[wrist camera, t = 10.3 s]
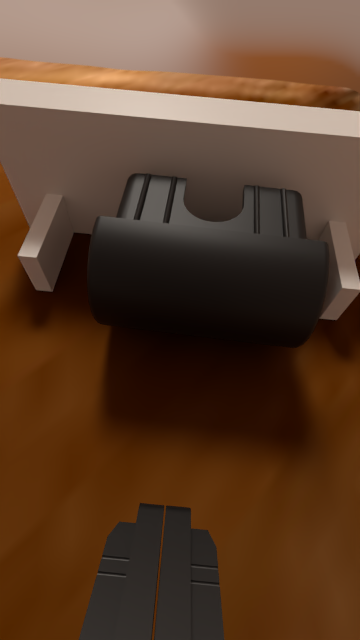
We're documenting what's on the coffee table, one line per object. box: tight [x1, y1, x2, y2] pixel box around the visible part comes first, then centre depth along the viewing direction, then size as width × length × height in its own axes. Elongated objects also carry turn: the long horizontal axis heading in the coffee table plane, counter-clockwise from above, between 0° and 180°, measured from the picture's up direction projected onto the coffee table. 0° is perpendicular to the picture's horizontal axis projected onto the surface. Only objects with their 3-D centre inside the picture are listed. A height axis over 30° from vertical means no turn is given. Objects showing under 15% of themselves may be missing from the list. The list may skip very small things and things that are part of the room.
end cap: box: [87, 173, 329, 348], centre depth 17 cm, size 10×7×7 cm
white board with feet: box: [0, 79, 360, 320], centre depth 19 cm, size 22×7×8 cm, turn 85°
